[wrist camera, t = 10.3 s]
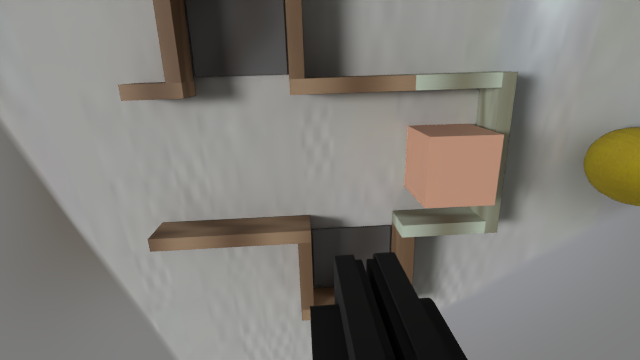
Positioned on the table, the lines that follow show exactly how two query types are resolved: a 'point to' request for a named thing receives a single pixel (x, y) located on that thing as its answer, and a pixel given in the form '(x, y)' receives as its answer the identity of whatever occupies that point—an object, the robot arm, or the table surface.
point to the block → (453, 165)
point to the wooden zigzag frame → (270, 58)
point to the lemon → (616, 165)
